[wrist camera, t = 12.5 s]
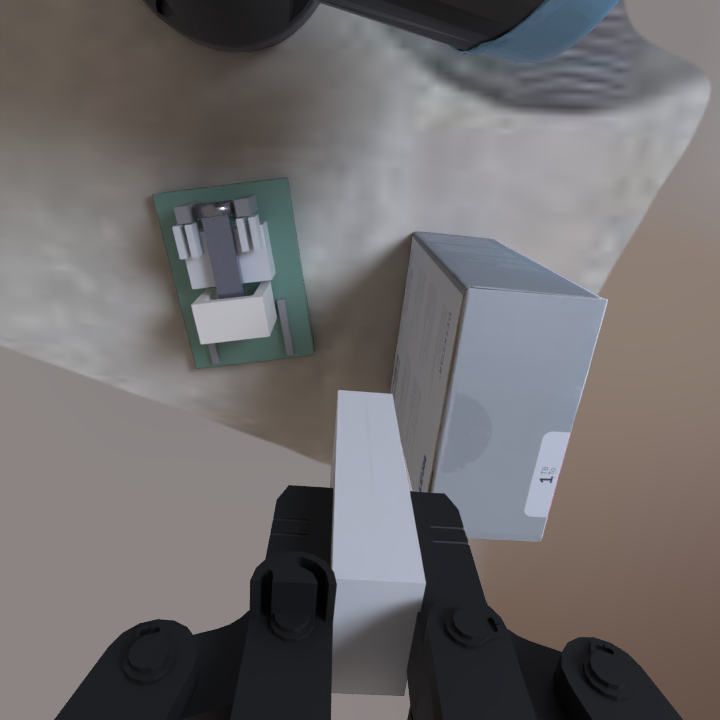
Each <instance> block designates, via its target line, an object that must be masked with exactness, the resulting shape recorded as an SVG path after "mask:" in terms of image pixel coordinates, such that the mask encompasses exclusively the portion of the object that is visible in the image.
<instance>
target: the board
mask: <svg viewBox="0 0 720 720" xmlns="http://www.w3.org/2000/svg"><path fill="white" fill-rule="evenodd" d="M152 196H153V199H154V203H155V207H156V211H157V215H158V219H159V223H160V227H161V231H162V235H163V239H164V243H165V247H166V250H167V254H168V258H169V262H170V266H171V270H172V274H173V278H174V282H175V286H176V290H177V294H178V297H179V301H180V305H181V309H182V313H183V317H184V321H185V325H186V329H187V333H188V337H189V341H190V344H191V348H192V352H193V356H194V360H195V364H196V368H197V369H198V368H206V367H215V366H224V365H232V364H241V363H250V362H258V361H267V360H275V359H284V358H293V357H301V356H310V355H314V352H315V349H314V342H313V336H312V330H311V323H310V317H309V311H308V304H307V298H306V291H305V285H304V279H303V272H302V266H301V260H300V253H299V247H298V241H297V234H296V228H295V222H294V215H293V209H292V203H291V196H290V190H289V183H288V177H287V178H279V179H271V180H263V181H254V182H246V183H238V184H230V185H221V186H213V187H205V188H197V189H189V190H180V191H172V192H164V193H157V194H153V195H152ZM225 200H231V201H232V203H233V207H234V217H231V220H232V226H233V231H234V236H235V241H236V246H237V251H238V256H239V262H240V267H241V272H242V277H243V282H244V287H245V293H246V296H252V295H254V293H255V291H256V290H257V288H258V286H259V285H260V283H261V282H268V281H271V287H272V292H273V298H274V303H275V309H276V314H277V319H276V322H275V324H274V327H273V330H272V332H271V335H270V336H269V337H261V338H252V339H244V340H235V341H227V342H218V343H210V344H201V343H200V339H199V335H198V331H197V327H196V323H195V319H194V315H193V311H192V307H191V304H192V303H193V302H194V301H195V300H196V299H197V298H198V297H199V296H200V295H201V294H202V293H203V292H204V291H205V290H206V289H209V288H216V285H215V280H214V276H213V271H212V266H211V262H210V257H209V252H208V248H207V243H206V238H205V234H204V229H203V224H202V220H201V221H198V219H197V217H196V214H195V204H200V203H209V202H217V201H225Z"/></svg>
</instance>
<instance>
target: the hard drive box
mask: <svg viewBox="0 0 720 720" xmlns="http://www.w3.org/2000/svg"><path fill="white" fill-rule="evenodd" d="M607 302H608V300H607V299H604V298H601V297H600V296H598V295H596V294H594V293H592V292H591V291H589V290H587V289H585V288H584V287H582V286H580V285H578V284H576V283H574V282H573V281H571V280H569V279H567V278H565V277H563V276H562V275H560V274H558V273H556V272H554V271H552V270H550V269H548V268H547V267H545V266H543V265H541V264H539V263H537V262H536V261H534V260H532V259H530V258H528V257H526V256H524V255H522V254H521V253H519V252H517V251H515V250H513V249H511V248H509V247H508V246H506V245H504V244H502V243H500V242H498V241H497V240H493V239H485V238H476V237H467V236H457V235H448V234H438V233H428V232H414V233H413V237H412V244H411V252H410V260H409V265H408V272H407V279H406V287H405V294H404V300H403V306H402V313H401V320H400V328H399V334H398V341H397V348H396V354H395V361H394V368H393V376H392V382H391V390H390V394H392V395H393V400H394V406H395V412H396V417H397V423H398V428H399V434H400V438H401V442H402V447H403V451H404V455H405V459H406V464H407V468H408V472H409V476H410V481H411V485H412V489H413V492H429V493H445V494H446V495H447V497H448V498H449V499H450V500H451V501H452V502H453V504H454V505H455V506H456V507H457V508H458V510H459V513H460V516H461V520H462V523H463V526H464V530H465V533H466V536H467V538H479V539H480V538H481V539H501V540H518V541H541V540H542V536H543V532H544V528H545V525H546V521H547V518H548V515H549V512H550V508H551V505H552V501H553V498H554V494H555V490H556V486H557V483H558V479H559V476H560V472H561V469H562V465H563V461H564V458H565V454H566V450H567V447H568V443H569V440H570V435H571V430H572V426H573V423H574V419H575V415H576V412H577V408H578V405H579V402H580V399H581V395H582V392H583V388H584V385H585V381H586V378H587V374H588V370H589V367H590V363H591V359H592V355H593V352H594V348H595V344H596V341H597V338H598V334H599V331H600V327H601V323H602V320H603V316H604V313H605V309H606V306H607Z"/></svg>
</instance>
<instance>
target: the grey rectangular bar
mask: <svg viewBox="0 0 720 720" xmlns="http://www.w3.org/2000/svg"><path fill="white" fill-rule="evenodd" d="M195 214H196V217H197V219H198V221H201V220H202V224H203V229H204V234H205V238H206V243H207V248H208V252H209V257H210V262H211V266H212V271H213V276H214V280H215V285H216V290H217V294H218V299H226V298H235V297H243V296H246V293H245V287H244V282H243V277H242V272H241V267H240V262H239V256H238V251H237V246H236V241H235V236H234V231H233V226H232V220H231V217H234V207H233V203H232V201H231V200H225V201H217V202H209V203H200V204H195Z"/></svg>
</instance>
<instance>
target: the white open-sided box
mask: <svg viewBox="0 0 720 720" xmlns="http://www.w3.org/2000/svg"><path fill="white" fill-rule="evenodd" d="M191 307H192V311H193V315H194V319H195V323H196V327H197V331H198V335H199V339H200V343H201V344H210V343H218V342H227V341H235V340H244V339H252V338H261V337H269V336H270V335H271V332H272V330H273V327H274V324H275V322H276V319H277V314H276V309H275V303H274V298H273V292H272V287H271V281H268V282H261V283H260V285H259V286H258V288H257V290H256V291H255V293H254V295H252V296H243V297H235V298H226V299H218V294H217V290H216V288H209V289H206V290H205V291H204V292H203V293H202V294H201V295H200V296H199V297H198V298H197V299H196V300H195V301H194V302H193V303H192V304H191Z"/></svg>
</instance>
